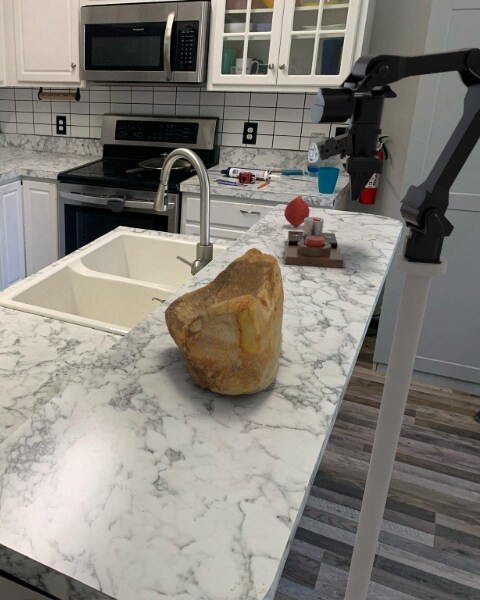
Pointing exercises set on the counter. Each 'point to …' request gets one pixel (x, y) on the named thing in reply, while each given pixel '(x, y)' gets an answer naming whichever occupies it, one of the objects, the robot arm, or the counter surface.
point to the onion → (296, 211)
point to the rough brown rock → (232, 326)
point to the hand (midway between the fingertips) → (353, 200)
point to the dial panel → (298, 236)
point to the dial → (313, 226)
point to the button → (314, 241)
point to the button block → (313, 255)
